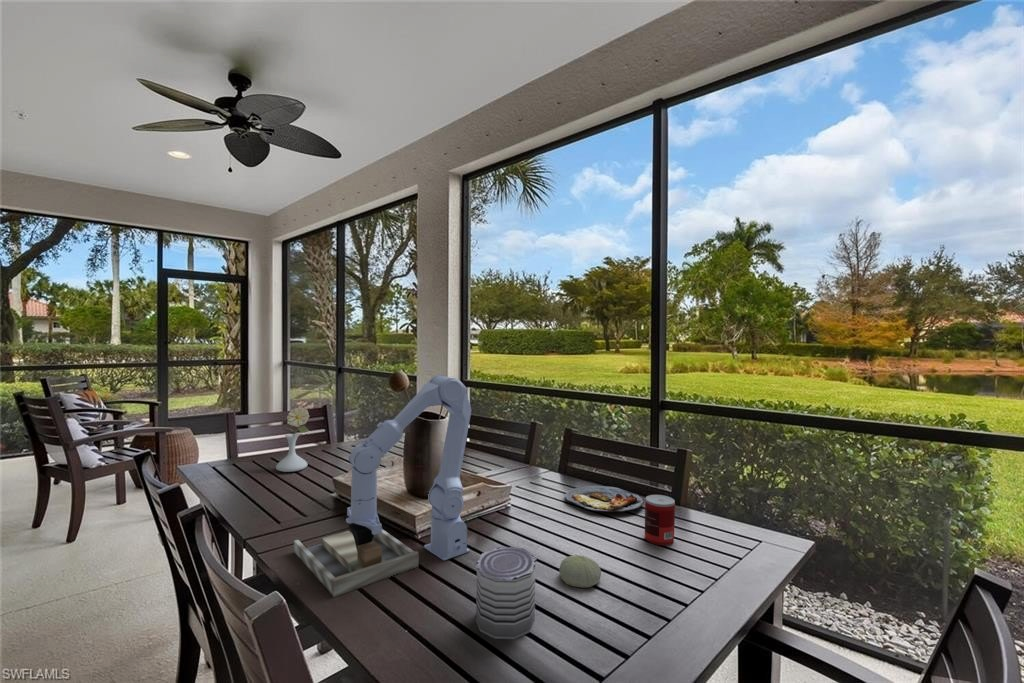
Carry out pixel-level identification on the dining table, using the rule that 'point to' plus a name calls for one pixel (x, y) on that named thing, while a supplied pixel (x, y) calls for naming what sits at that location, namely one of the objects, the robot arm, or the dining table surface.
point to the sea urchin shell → (579, 571)
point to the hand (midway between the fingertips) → (363, 554)
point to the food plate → (604, 498)
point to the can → (505, 592)
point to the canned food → (659, 519)
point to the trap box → (354, 561)
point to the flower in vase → (294, 442)
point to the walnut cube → (369, 554)
